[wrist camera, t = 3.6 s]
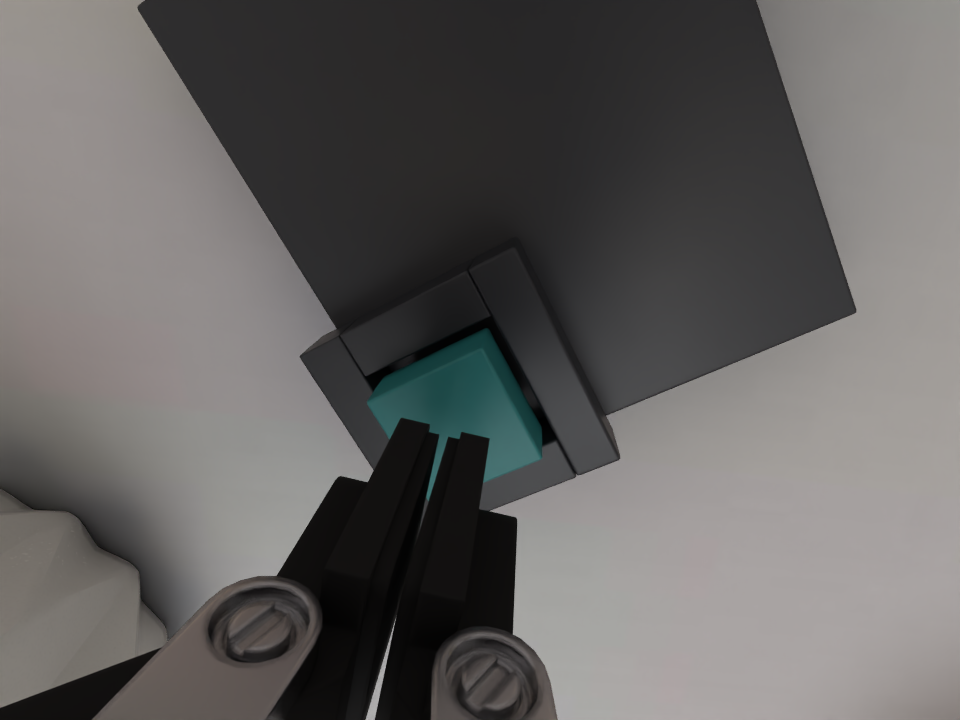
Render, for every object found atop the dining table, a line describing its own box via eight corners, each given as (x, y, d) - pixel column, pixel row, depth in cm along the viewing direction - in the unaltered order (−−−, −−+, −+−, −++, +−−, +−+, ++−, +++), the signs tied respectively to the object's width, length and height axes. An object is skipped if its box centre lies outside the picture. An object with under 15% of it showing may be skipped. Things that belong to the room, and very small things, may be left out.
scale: (171, 34, 14) (63, -2, 11) (619, -298, 11) (652, -483, 8) (439, 470, 18) (418, 539, 15) (825, 308, 15) (905, 350, 12)
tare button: (382, 376, 14) (364, 402, 12) (488, 325, 13) (481, 347, 12) (440, 471, 15) (429, 505, 13) (543, 428, 14) (543, 460, 12)
